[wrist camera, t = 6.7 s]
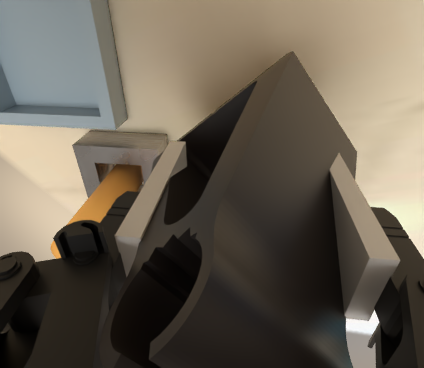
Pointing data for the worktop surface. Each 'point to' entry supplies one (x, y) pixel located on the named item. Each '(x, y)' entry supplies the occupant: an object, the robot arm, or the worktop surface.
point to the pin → (107, 195)
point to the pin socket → (115, 154)
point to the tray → (59, 65)
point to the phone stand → (242, 242)
